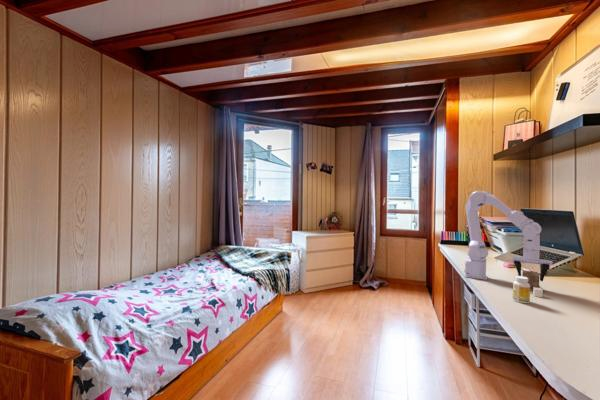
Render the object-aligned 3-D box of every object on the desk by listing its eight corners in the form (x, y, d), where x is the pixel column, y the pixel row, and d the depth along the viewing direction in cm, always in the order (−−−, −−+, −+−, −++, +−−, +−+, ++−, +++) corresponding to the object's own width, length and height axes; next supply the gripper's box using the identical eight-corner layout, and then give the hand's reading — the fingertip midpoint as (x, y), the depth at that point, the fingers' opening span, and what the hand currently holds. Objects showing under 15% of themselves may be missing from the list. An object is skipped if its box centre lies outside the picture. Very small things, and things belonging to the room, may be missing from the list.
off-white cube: (534, 296, 118) (534, 289, 118) (533, 294, 120) (533, 287, 120) (542, 297, 117) (542, 290, 117) (541, 295, 119) (541, 288, 119)
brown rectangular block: (524, 287, 127) (524, 272, 126) (522, 284, 131) (522, 270, 131) (539, 289, 124) (539, 274, 124) (536, 286, 128) (537, 271, 128)
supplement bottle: (509, 299, 114) (510, 276, 114) (517, 297, 116) (517, 274, 116) (525, 304, 109) (525, 280, 109) (532, 302, 111) (533, 278, 111)
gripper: (512, 249, 127) (511, 278, 128) (554, 252, 120) (553, 284, 120) (510, 246, 133) (509, 275, 134) (550, 249, 126) (549, 280, 126)
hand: (530, 279), depth 127 cm, fingers open, 7 cm apart
